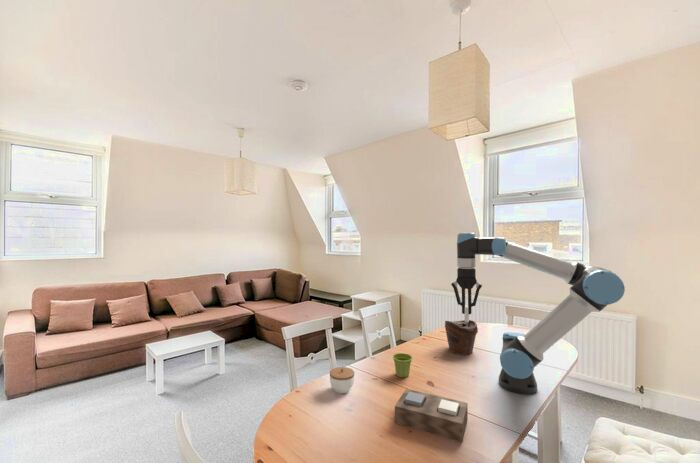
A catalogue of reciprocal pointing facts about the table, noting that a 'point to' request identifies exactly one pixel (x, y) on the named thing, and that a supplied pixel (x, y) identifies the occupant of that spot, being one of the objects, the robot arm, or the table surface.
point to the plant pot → (402, 364)
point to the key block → (432, 416)
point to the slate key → (415, 399)
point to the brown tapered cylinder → (461, 336)
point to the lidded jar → (341, 379)
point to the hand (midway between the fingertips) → (466, 321)
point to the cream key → (448, 407)
